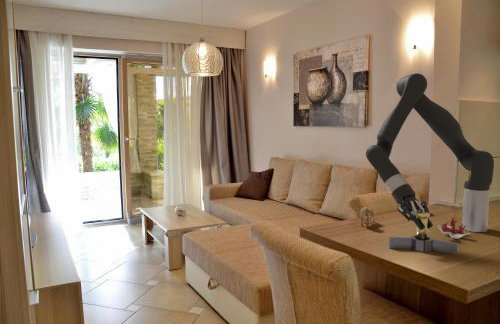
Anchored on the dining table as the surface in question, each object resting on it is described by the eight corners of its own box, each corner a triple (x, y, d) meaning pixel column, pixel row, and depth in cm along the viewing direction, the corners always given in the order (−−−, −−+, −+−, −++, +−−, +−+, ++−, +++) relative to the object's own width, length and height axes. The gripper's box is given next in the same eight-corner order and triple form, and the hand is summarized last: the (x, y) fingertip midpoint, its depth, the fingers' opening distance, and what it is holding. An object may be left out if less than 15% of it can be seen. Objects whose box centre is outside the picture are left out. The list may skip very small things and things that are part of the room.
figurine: (463, 244, 147) (464, 226, 146) (430, 238, 155) (431, 221, 154) (474, 235, 158) (475, 219, 157) (443, 230, 166) (443, 214, 165)
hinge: (395, 241, 151) (395, 231, 150) (458, 251, 139) (459, 240, 138) (388, 248, 143) (388, 237, 143) (454, 259, 131) (454, 247, 130)
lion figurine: (370, 229, 168) (371, 208, 167) (357, 228, 170) (358, 207, 169) (375, 221, 181) (375, 202, 180) (363, 220, 183) (363, 201, 182)
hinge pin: (415, 234, 145) (416, 210, 144) (430, 237, 142) (431, 212, 141) (412, 238, 141) (413, 213, 140) (427, 240, 138) (428, 215, 137)
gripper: (392, 184, 143) (421, 225, 133) (418, 181, 150) (446, 219, 141) (380, 196, 148) (407, 236, 139) (406, 193, 155) (432, 230, 146)
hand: (426, 227), depth 140 cm, fingers closed on hinge pin, 3 cm apart
